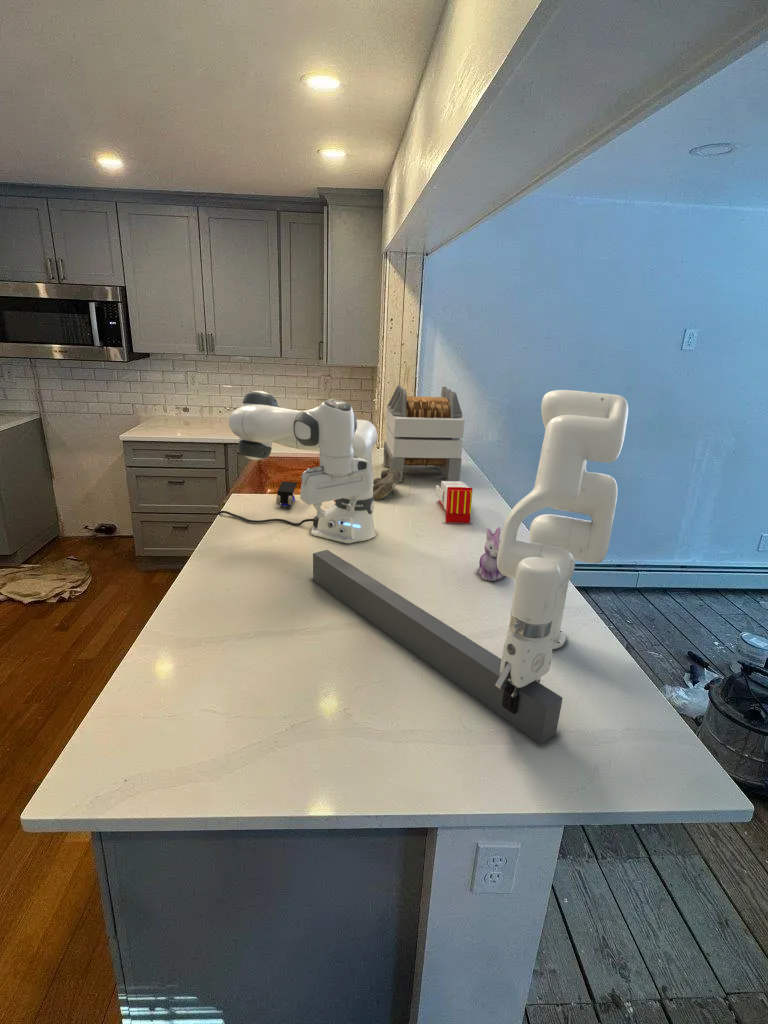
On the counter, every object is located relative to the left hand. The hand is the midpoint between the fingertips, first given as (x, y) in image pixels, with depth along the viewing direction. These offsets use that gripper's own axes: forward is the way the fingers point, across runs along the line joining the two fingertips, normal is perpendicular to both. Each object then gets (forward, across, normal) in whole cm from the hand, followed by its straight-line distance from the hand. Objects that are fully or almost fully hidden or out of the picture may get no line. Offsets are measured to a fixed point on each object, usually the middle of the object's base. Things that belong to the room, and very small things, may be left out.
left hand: (335, 513), depth 152 cm
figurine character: (+22, +23, +69) cm, 76 cm away
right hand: (+19, 0, -65) cm, 68 cm away
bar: (+22, 0, -32) cm, 39 cm away
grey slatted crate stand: (+22, +100, +77) cm, 128 cm away
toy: (+22, +75, +29) cm, 83 cm away
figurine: (+22, +44, -19) cm, 53 cm away
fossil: (+22, +65, +60) cm, 92 cm away
